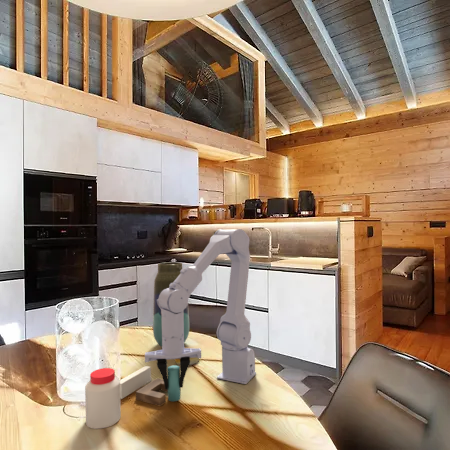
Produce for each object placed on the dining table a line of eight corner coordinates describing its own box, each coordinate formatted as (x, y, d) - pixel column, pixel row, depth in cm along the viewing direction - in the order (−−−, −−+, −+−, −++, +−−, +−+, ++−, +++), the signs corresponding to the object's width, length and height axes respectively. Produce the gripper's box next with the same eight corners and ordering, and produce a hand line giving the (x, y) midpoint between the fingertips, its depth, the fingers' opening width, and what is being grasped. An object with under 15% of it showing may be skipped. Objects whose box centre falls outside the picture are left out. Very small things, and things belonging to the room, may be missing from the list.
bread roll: (176, 368, 111) (176, 355, 111) (173, 358, 119) (173, 346, 119) (201, 364, 113) (201, 352, 113) (196, 355, 121) (196, 343, 121)
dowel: (182, 396, 92) (181, 365, 92) (177, 401, 88) (177, 370, 89) (170, 394, 92) (170, 365, 92) (166, 400, 89) (165, 369, 89)
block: (180, 390, 95) (180, 383, 95) (160, 406, 87) (160, 398, 87) (157, 385, 98) (157, 378, 98) (135, 399, 90) (135, 391, 90)
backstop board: (151, 380, 101) (150, 366, 101) (121, 399, 91) (121, 383, 91) (145, 379, 102) (145, 365, 102) (115, 397, 92) (115, 382, 92)
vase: (196, 342, 134) (195, 262, 135) (173, 353, 123) (171, 265, 123) (169, 336, 142) (168, 260, 142) (145, 347, 130) (143, 264, 130)
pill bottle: (83, 431, 77) (82, 382, 77) (87, 413, 84) (87, 368, 84) (120, 425, 79) (119, 377, 79) (121, 408, 86) (120, 364, 86)
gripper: (199, 328, 95) (200, 377, 95) (145, 332, 93) (146, 382, 93) (201, 336, 88) (202, 389, 88) (143, 340, 86) (144, 394, 86)
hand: (173, 386), depth 90 cm, fingers closed on dowel, 3 cm apart
